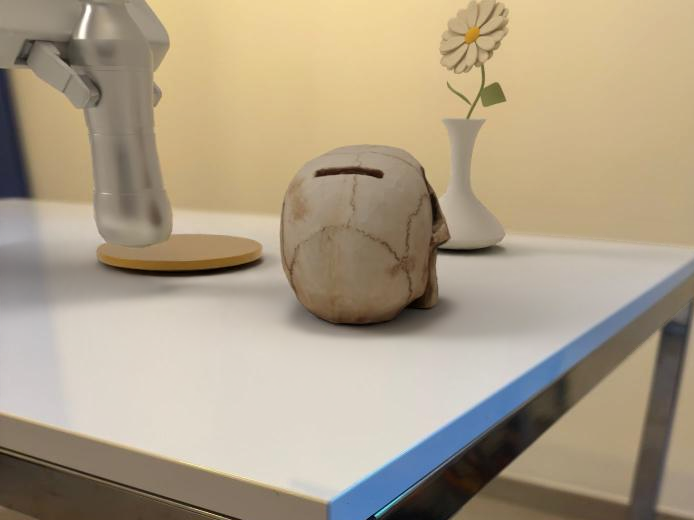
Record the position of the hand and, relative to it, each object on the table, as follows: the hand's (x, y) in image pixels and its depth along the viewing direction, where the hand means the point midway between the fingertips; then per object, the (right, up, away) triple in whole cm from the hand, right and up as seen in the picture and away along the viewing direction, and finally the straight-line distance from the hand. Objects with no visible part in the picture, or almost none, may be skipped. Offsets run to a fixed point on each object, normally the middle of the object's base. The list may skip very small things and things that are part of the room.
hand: (123, 102), depth 63 cm
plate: (0, -7, +20) cm, 21 cm away
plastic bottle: (-1, -10, +6) cm, 12 cm away
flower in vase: (+30, -2, +29) cm, 42 cm away
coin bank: (+20, -16, +3) cm, 25 cm away
